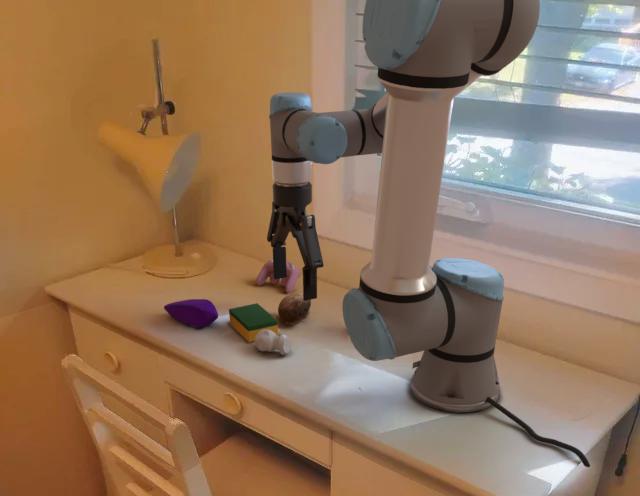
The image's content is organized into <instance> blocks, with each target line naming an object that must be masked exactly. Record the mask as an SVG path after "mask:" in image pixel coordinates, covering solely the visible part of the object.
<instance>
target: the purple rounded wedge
mask: <svg viewBox="0 0 640 496" xmlns="http://www.w3.org/2000/svg"><path fill="white" fill-rule="evenodd" d="M163 309H164V310H165V312H166V313H167V314H168V315H169V316H170V317H172V318H173V319H175V320H176V321H178V322H180V323H182V324H184V325H186V326H188V327H193V328H197V329H201V328H205V327H208V326H209V325H211V324H212V323H214V322H215V321H217V320H218V319H219V313H218V311H217V308H216V306H215V305H214V303H213V302H212V301H211V300H209V299H205V298H201V299H200V298H198V299H197V298H194V299H193V298H192V299H191V298H190V299H184V300H179V301H174V302H171V303H167V304H165V305H164V306H163Z"/></svg>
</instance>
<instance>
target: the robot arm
mask: <svg viewBox="0 0 640 496" xmlns="http://www.w3.org/2000/svg"><path fill="white" fill-rule="evenodd" d="M540 7H541V3H540V0H365V5H364V8H363V9H364V10H363V15H362V31H361V32H362V40H363V41H364V42H365V44H364V50H365V54H366V56H367V58H368V61H370V62H371V64H372V65H374V67H377V75H376V76H377V80H378V82H379V83H380V84H381V85H382V87H383V88H384V89H385V91H386V93H385V94H384V95H383V96H382V97H381V98H380V99H379V100H378V101H377V102H376V103H375V104H373V105H372V106H371V107H369V108H360V109H351V110H339V111H325V112H315V111H313V107H312V99H311V96H310V95H309V94H308V93H304V92H289V91H288V92H278V93H275V94H273V95H272V96H271V97H270V100H269V115H268V118H269V129H270V147H271V148H270V149H271V151H270V152H271V159H270V160H271V161H270V162H271V181H273V182H274V183H273V184H272V201H271V215H270V221H269V225H268V230H267V235H266V241H267V242H268V243H270V247H271V248H272V260H273V270H274V279H280V280H281V279H282V278H286V277H287V269H286V261H287V247H286V246H287V238H288V236H289V235H290V234H291V236H292V238H293V239H295V241H296V244H297V247H298V249H299V252H300V257H301V258H302V261H303V264H304V265H303V267H302V294H303V300H305V301H307V300H311V301H312V300H316V299H318V269H320V268H324V259H323V255H322V250H321V246H320V242H319V236H318V233H317V227H316V216H315V215H314V214H308V215H307V209H306V208H307V206H309V205H310V204H312V201H313V184H312V183H311V180H313V179H312V178H313V177H312V175H313V174H312V167H313V163H314V164H319V165H331V164H333V163H335V162H337V161H338V160H340V159H341V158H350V157H356V156H366V155H377V154H378V155H379V154H381V159H380V169H379V182H378V189H377V199H376V200H377V201H376V209H375V210H376V211H375V221H374V232H373V241H372V253H371V260H370V261H369V262H368V263H367V264H365V265H364V266H363V267H362V268H361V270H360V273H359V284H358V288H353V287H352V288H351V289H350V290H348V291H347V292H346V293H345V294H344V296H343V298H342V317H343V322H344V326H345V330H346V332H347V334H348V337H349V340H350V341H351V344H352V345H353V347H354V348H355V350H356V351H357V352H358V354H360V355H361V357H363V359H366V360H367V361H371V362H379V361H384V360H395V358H399V357H403V356H408V355H411V354H416V353H420V352H423V353H422V355H421V357H420V360H417V361H414V362H412V370H413V369H415V370H414V372H413V375H412V378H411V387H410V389H411V392H412V394H413V395H414V397H415V398H416V399H417V400H418V401H420V402H421V403H423V404H424V405H427V406H429V407H430V408H433V409H437V410H439V411H445V412H450V413H451V412H452V413H473V412H478V411H482V410H486V409H488V408H490V407H494V408H495V409H497V410H498V411H500V413H502V414H503V415H505V416H506V417H508V418H509V419H511V420H512V422H514V423H516V424H517V425H518V426H520V427H521V428H523V429H524V430H525V431H526V432H527V434H528V435H529V436H530V437H531V438H532V439H533V440H535V441H537V442H540V443H544V444H550V445H553V446H555V447H558V448H561V449H563V450H566V451H568V452H572V453H573V454H575V455H576V456H577V457H578V459H579V460H580V461H581V462H582V465H583V467H586V468H590V467H591V464H590V461H589V459H588V458H587V457H586V455H585V454H584V452H582V451H581V450H580V449H579V448H578V447H575V446H573V445H570V444H568V443H565V442H562V441H559V440H557V439H554V438H550V437H546V436H545V437H544V436H541V435H540V434H537V433H536V432H535V430H533V429H532V427H531V426H530V425H528V424H527V423H526V422H525V421H523V420H522V419H521V418H519V417H518V416H516V414H514V413H512V412H511V411H510V410H508V409H507V408H506V407H504V406H502V405H501V404H500V403H498V402H497V400H498V399H499V395H500V388H501V387H500V379H499V376H498V369H497V363H496V360H495V359H496V358H495V350H496V344H497V335H498V329H499V324H500V318H501V312H502V306H503V301H504V286H505V279H504V276H503V274H501V272H500V270H498V269H497V268H495V267H493V266H491V265H489V264H485V263H484V262H480V261H476V260H472V259H466V258H459V257H445V258H440V259H436V260H435V262H434V263H433V265H432V268H430V260H431V255H432V254H431V253H432V246H433V242H434V241H433V239H434V234H435V228H436V227H435V226H436V219H437V213H438V206H439V202H440V201H439V200H440V194H441V186H442V181H443V174H444V173H443V172H444V167H445V161H446V153H447V146H448V139H449V133H450V126H451V119H452V113H453V106H454V99H455V98H456V97H457V96H458V95H459V94H461V93H462V92H463V91H464V90H466V89H467V88H469V87H470V86H471V85H472V84H473V83H475V82H476V81H477V80H478V79H480V78H481V77H490V76H494V75H497V74H498V73H499V72H501V71H502V70H503V69H505V68H506V67H507V66H508V65H510V64H511V63H512V62H514V61H515V60H516V59H517V58H518V57H519V56H521V54H522V53H523V52H524V51H525V50H526V49H527V47H528V45H529V44H530V42H531V41H532V39H533V37H534V35H535V33H536V30H537V28H538V23H539V20H540V10H541V9H540Z"/></svg>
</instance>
